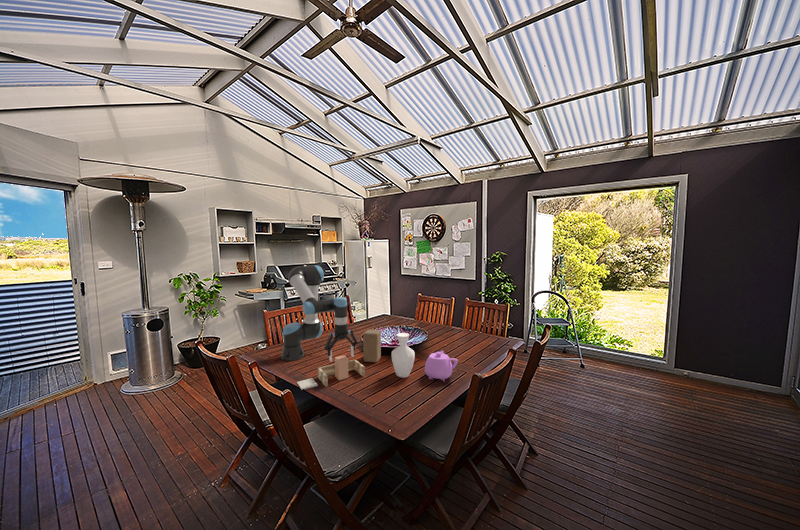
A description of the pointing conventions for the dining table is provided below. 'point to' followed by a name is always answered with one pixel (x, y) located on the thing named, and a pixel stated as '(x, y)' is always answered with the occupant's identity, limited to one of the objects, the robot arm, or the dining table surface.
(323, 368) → the frame
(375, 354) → the wooden block
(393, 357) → the vase
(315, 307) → the robot arm
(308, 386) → the white tile
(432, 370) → the teapot
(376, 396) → the dining table surface
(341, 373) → the terracotta block
